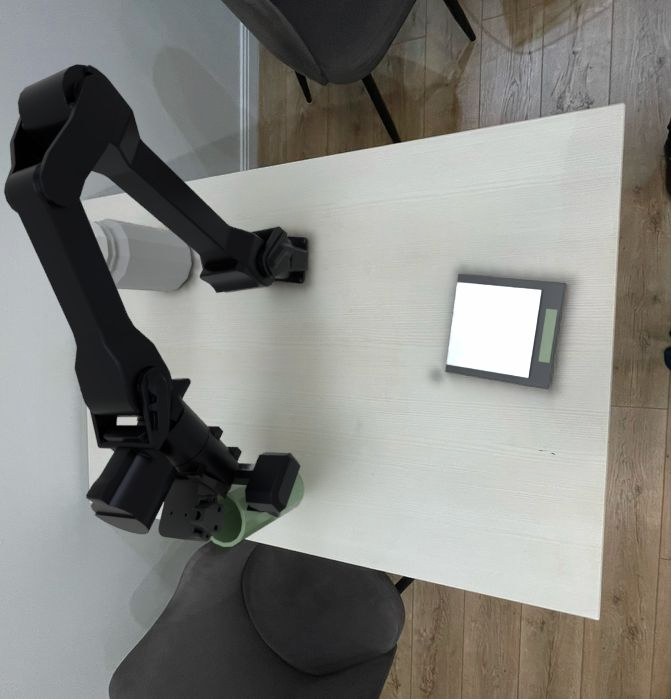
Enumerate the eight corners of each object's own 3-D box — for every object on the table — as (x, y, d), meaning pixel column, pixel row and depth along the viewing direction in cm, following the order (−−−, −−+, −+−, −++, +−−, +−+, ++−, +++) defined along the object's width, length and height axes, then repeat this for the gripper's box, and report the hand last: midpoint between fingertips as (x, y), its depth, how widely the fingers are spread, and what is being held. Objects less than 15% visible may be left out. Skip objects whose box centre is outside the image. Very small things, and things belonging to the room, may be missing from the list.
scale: (449, 370, 68) (443, 372, 65) (461, 274, 66) (456, 273, 64) (550, 387, 62) (547, 390, 60) (566, 283, 61) (564, 282, 59)
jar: (153, 229, 89) (53, 210, 73) (198, 233, 85) (102, 214, 69) (148, 288, 91) (49, 282, 75) (193, 295, 86) (97, 290, 70)
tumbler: (279, 518, 74) (217, 556, 62) (255, 476, 75) (190, 505, 64) (313, 496, 71) (254, 531, 60) (287, 453, 73) (226, 479, 61)
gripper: (85, 506, 57) (171, 566, 67) (225, 521, 48) (299, 587, 58) (137, 419, 63) (207, 485, 74) (267, 418, 55) (327, 493, 65)
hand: (255, 511), depth 67 cm, fingers closed on tumbler, 7 cm apart
